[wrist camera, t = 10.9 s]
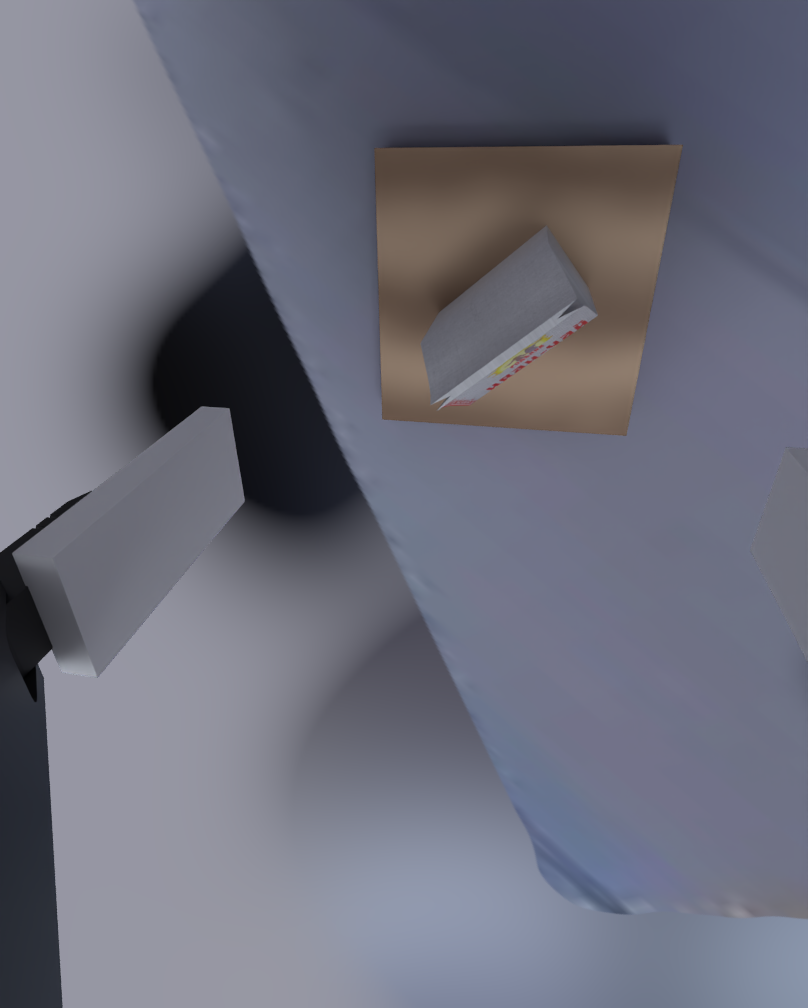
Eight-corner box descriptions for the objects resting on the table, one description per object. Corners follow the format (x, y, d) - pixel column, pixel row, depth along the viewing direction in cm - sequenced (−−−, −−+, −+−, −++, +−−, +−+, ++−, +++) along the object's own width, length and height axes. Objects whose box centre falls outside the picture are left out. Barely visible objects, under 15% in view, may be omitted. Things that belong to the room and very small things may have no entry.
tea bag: (438, 312, 32) (403, 371, 24) (546, 225, 29) (549, 257, 21) (480, 366, 33) (460, 441, 25) (588, 287, 30) (607, 342, 22)
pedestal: (387, 147, 32) (374, 147, 29) (670, 144, 29) (682, 144, 27) (392, 401, 39) (382, 419, 36) (620, 415, 36) (626, 435, 34)
